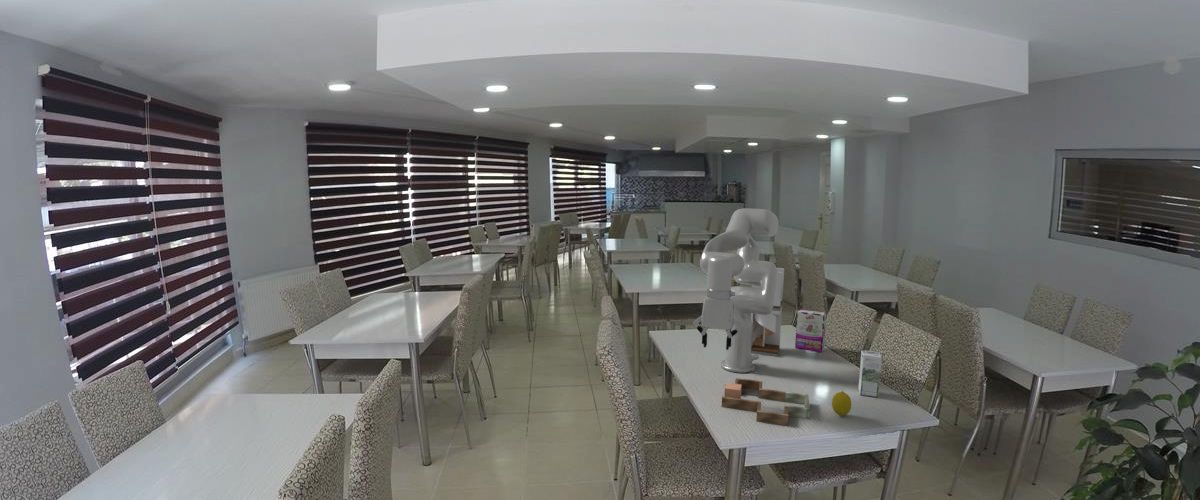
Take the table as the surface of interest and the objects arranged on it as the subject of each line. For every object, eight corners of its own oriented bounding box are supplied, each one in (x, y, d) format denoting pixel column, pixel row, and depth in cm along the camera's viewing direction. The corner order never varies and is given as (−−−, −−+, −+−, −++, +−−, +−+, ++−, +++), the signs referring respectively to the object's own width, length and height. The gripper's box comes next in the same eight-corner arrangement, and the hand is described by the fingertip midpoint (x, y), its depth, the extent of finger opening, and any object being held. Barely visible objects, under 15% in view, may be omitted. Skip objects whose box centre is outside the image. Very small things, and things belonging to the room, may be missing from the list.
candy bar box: (824, 349, 234) (827, 312, 232) (822, 353, 230) (824, 315, 228) (797, 345, 240) (799, 308, 238) (794, 348, 236) (796, 311, 233)
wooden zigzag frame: (719, 415, 170) (719, 406, 170) (726, 384, 195) (727, 376, 194) (810, 428, 162) (811, 419, 162) (806, 395, 187) (807, 386, 186)
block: (724, 402, 180) (724, 388, 179) (725, 396, 185) (726, 382, 184) (739, 404, 179) (740, 390, 178) (740, 398, 183) (741, 384, 182)
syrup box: (875, 391, 190) (879, 351, 188) (878, 398, 185) (882, 356, 183) (857, 389, 192) (861, 349, 190) (859, 395, 187) (863, 354, 185)
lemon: (827, 412, 173) (829, 388, 172) (844, 412, 174) (846, 387, 173) (836, 420, 168) (838, 395, 167) (853, 419, 168) (856, 395, 167)
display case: (748, 353, 229) (752, 270, 224) (751, 345, 239) (756, 266, 234) (777, 357, 225) (782, 272, 220) (779, 349, 234) (784, 268, 229)
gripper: (746, 293, 179) (744, 346, 182) (693, 289, 184) (691, 341, 187) (745, 299, 172) (742, 354, 175) (690, 294, 177) (688, 348, 180)
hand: (716, 347), depth 181 cm, fingers open, 6 cm apart
